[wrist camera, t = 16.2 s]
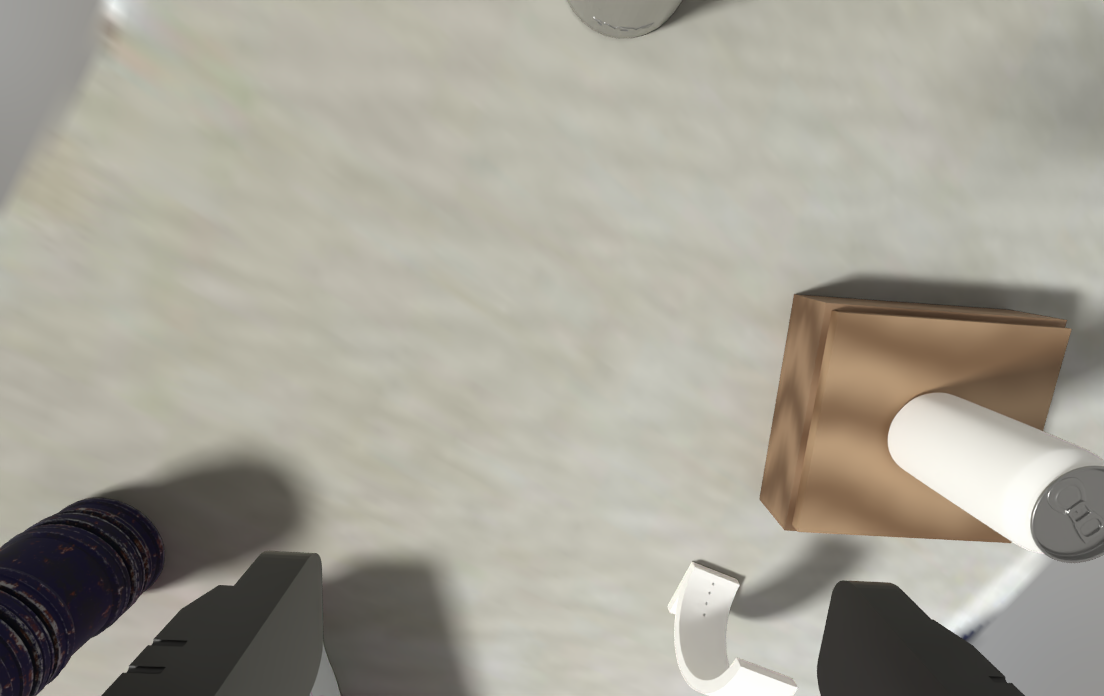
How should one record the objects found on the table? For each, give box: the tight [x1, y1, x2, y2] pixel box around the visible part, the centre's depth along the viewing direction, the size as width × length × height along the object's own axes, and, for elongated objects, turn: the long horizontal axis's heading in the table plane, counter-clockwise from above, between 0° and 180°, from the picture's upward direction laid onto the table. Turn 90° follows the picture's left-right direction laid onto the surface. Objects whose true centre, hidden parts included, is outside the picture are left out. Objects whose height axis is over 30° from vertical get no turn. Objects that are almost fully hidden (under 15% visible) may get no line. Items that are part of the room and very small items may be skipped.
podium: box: [760, 294, 1071, 543], centre depth 44 cm, size 18×18×6 cm
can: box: [888, 393, 1104, 563], centre depth 35 cm, size 6×6×12 cm
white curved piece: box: [667, 562, 798, 696], centre depth 44 cm, size 5×6×12 cm
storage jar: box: [0, 498, 165, 696], centre depth 39 cm, size 10×10×18 cm
